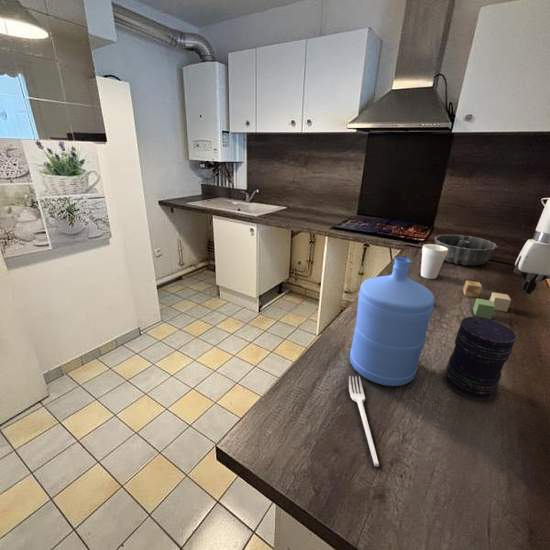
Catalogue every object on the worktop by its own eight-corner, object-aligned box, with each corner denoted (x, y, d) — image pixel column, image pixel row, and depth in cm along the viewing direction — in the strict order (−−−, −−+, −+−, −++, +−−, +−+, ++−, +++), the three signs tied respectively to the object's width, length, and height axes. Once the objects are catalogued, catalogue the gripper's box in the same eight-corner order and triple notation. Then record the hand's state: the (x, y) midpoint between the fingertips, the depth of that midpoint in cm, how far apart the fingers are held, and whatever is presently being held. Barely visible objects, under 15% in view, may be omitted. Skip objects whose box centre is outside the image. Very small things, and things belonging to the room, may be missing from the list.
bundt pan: (435, 266, 138) (440, 245, 134) (426, 249, 162) (430, 232, 158) (499, 273, 131) (507, 252, 128) (480, 255, 155) (486, 236, 151)
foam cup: (442, 281, 121) (449, 252, 116) (417, 278, 124) (424, 249, 119) (438, 273, 129) (445, 245, 124) (416, 270, 132) (422, 243, 127)
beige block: (503, 306, 102) (507, 294, 101) (506, 311, 99) (511, 300, 97) (488, 303, 104) (492, 292, 102) (491, 309, 100) (495, 297, 98)
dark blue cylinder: (505, 394, 64) (529, 338, 58) (470, 404, 61) (492, 346, 56) (466, 365, 73) (483, 313, 67) (434, 372, 70) (449, 319, 64)
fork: (366, 467, 49) (368, 459, 48) (346, 381, 68) (347, 375, 67) (386, 468, 49) (388, 461, 48) (360, 382, 67) (361, 376, 67)
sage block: (488, 312, 98) (492, 300, 96) (491, 319, 94) (495, 306, 92) (472, 309, 99) (476, 298, 98) (474, 315, 96) (478, 303, 94)
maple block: (476, 293, 112) (479, 282, 110) (478, 297, 108) (482, 286, 106) (462, 290, 113) (466, 280, 112) (464, 295, 110) (467, 284, 108)
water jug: (429, 384, 67) (462, 271, 56) (365, 391, 64) (387, 275, 53) (393, 343, 81) (414, 247, 70) (340, 348, 78) (352, 249, 67)
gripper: (574, 239, 89) (550, 292, 96) (515, 232, 95) (496, 283, 102) (586, 245, 83) (559, 302, 90) (522, 237, 88) (502, 291, 96)
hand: (526, 292), depth 96 cm, fingers closed
